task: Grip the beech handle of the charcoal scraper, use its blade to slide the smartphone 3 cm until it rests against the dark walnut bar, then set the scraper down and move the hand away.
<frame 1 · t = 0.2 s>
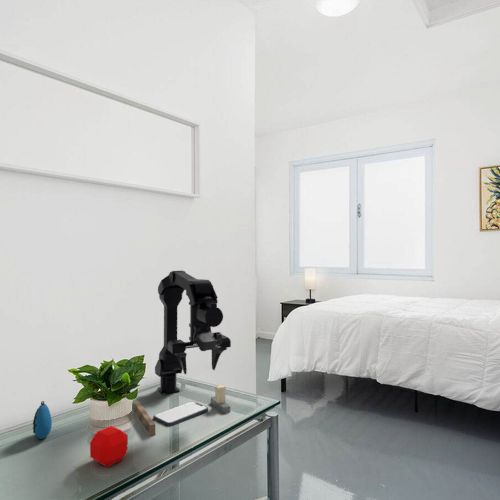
hand: (199, 371, 133), 14 cm above the table, tool pointing down, fingers open, 9 cm apart
walnut bar: (143, 422, 130), on the table
scraper: (220, 407, 142), on the table
smartphone: (181, 416, 136), on the table
ornament: (42, 437, 120), on the table
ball: (109, 462, 107), on the table
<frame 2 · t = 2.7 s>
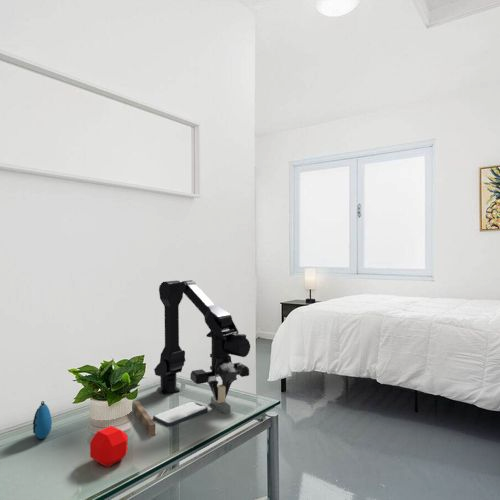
hand: (220, 399, 142), 3 cm above the table, tool pointing down, fingers closed on scraper, 2 cm apart
scraper: (220, 407, 142), on the table, touching gripper
everything else where it was.
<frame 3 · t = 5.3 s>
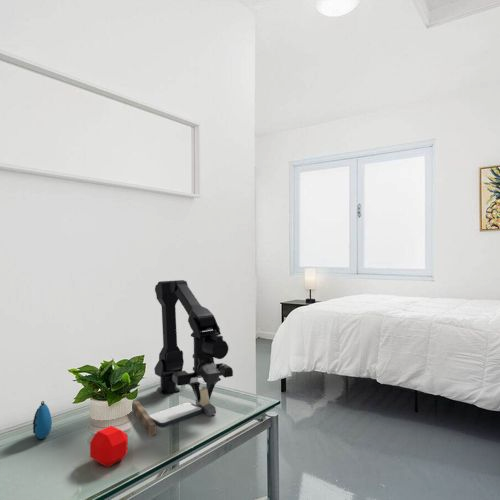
hand: (203, 400, 139), 3 cm above the table, tool pointing down, fingers closed on scraper, 3 cm apart
scraper: (206, 409, 139), on the table, tilted 12°, touching gripper, smartphone
smartphone: (175, 417, 135), on the table, touching scraper
everything else where it was.
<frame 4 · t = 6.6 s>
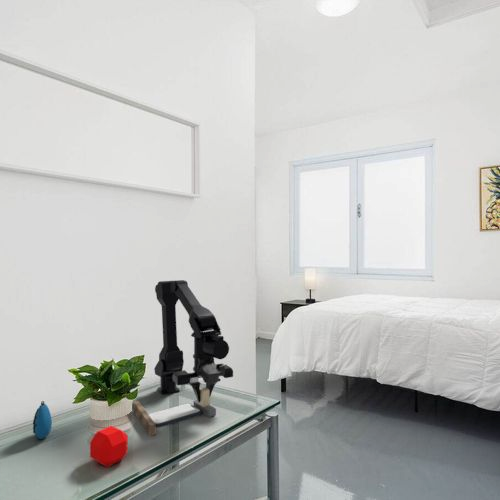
hand: (203, 401, 139), 3 cm above the table, tool pointing down, fingers closed on scraper, 3 cm apart
scraper: (204, 410, 138), on the table, touching gripper
smartphone: (173, 418, 134), on the table
everything else where it was.
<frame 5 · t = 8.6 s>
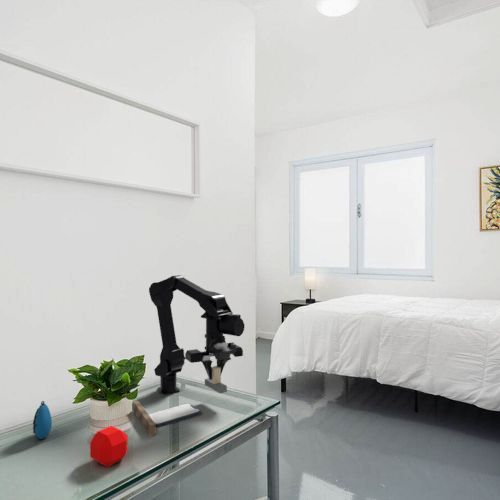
hand: (214, 378, 145), 8 cm above the table, tool pointing down, fingers closed on scraper, 3 cm apart
scraper: (215, 388, 145), point 5 cm above the table, touching gripper
everything else where it was.
when the fingers open (3 cm above the table, at t = 10.0 s): scraper stays where it is, on the table.
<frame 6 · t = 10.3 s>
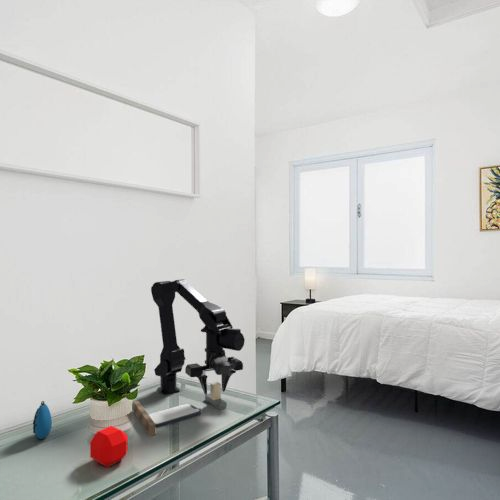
hand: (214, 392, 145), 3 cm above the table, tool pointing down, fingers open, 6 cm apart
scraper: (215, 404, 145), on the table
everything else where it was.
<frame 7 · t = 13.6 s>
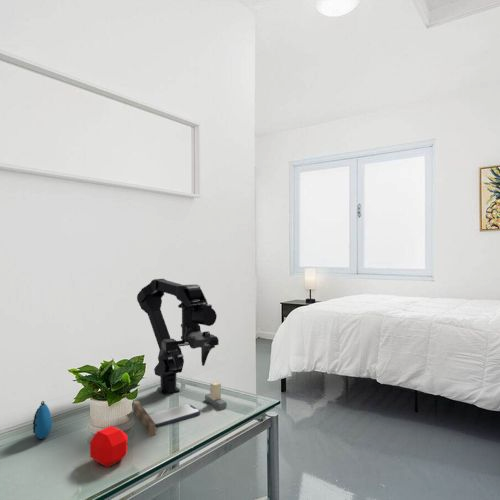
hand: (190, 367, 148), 11 cm above the table, tool pointing down, fingers open, 9 cm apart
nothing on the table moved.
at the end: smartphone 0.3 cm from the target spot, on the table; smartphone moved 3.0 cm from its start; the gripper is holding nothing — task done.
